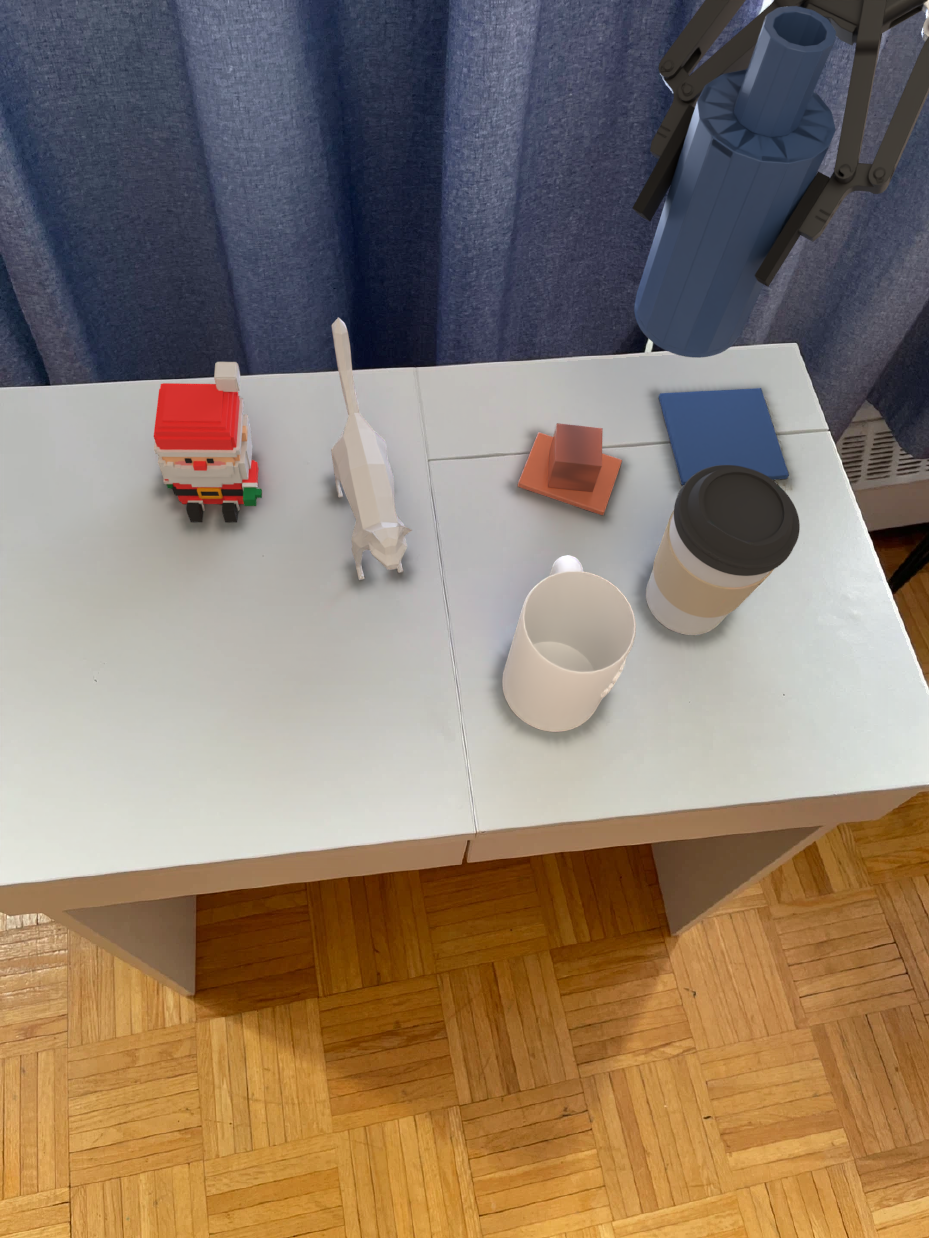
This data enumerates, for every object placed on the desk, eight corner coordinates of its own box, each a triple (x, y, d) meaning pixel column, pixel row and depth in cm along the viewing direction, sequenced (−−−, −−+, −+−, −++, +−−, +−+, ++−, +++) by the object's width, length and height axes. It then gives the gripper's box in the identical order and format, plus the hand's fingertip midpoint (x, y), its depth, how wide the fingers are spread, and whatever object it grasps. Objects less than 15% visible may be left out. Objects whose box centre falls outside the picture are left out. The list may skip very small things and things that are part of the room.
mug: (601, 600, 78) (635, 525, 68) (605, 736, 73) (643, 678, 62) (503, 593, 78) (522, 517, 67) (500, 729, 73) (520, 670, 62)
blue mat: (759, 391, 89) (761, 387, 89) (787, 479, 85) (789, 475, 85) (658, 397, 88) (660, 393, 88) (681, 485, 84) (683, 482, 84)
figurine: (162, 522, 78) (127, 436, 68) (170, 453, 82) (137, 359, 71) (265, 523, 79) (246, 437, 68) (269, 454, 82) (252, 361, 71)
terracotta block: (593, 455, 84) (602, 427, 80) (592, 492, 82) (602, 466, 79) (549, 450, 84) (556, 422, 80) (547, 487, 82) (554, 461, 79)
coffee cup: (661, 534, 82) (715, 429, 68) (755, 584, 80) (829, 487, 67) (615, 612, 78) (662, 517, 65) (712, 666, 76) (781, 581, 63)
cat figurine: (365, 626, 76) (360, 538, 63) (319, 428, 84) (307, 315, 71) (419, 615, 77) (425, 526, 64) (368, 421, 85) (365, 307, 72)
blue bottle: (763, 320, 69) (904, 37, 50) (694, 376, 66) (815, 98, 47) (681, 258, 71) (786, -35, 52) (611, 310, 68) (695, 19, 49)
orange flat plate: (621, 463, 85) (622, 459, 84) (603, 516, 82) (604, 512, 82) (537, 435, 85) (538, 431, 85) (517, 486, 83) (517, 483, 82)
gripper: (1095, -39, 52) (847, 334, 61) (768, -181, 57) (578, 185, 65) (1133, -107, 46) (848, 323, 54) (758, -263, 50) (547, 158, 58)
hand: (700, 247), depth 59 cm, fingers closed on blue bottle, 8 cm apart
